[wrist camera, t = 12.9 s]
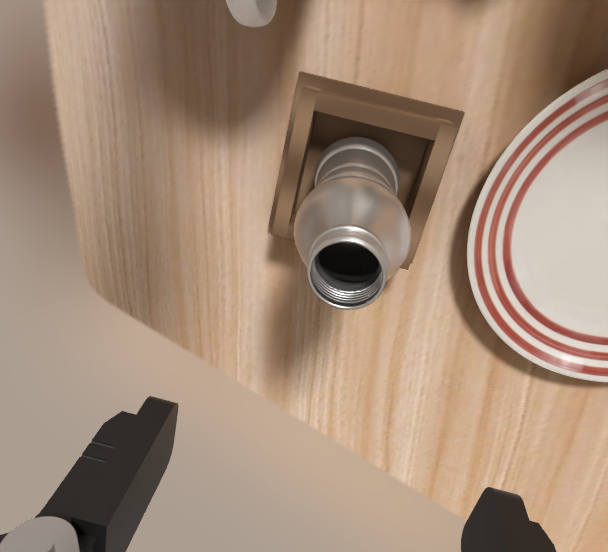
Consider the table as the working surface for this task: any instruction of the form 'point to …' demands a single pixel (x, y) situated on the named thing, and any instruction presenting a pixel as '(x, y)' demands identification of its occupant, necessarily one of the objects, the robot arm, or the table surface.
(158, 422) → the robot arm
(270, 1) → the mug
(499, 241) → the dinner plate
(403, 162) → the bottle stand
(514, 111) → the table surface
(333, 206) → the plastic bottle
